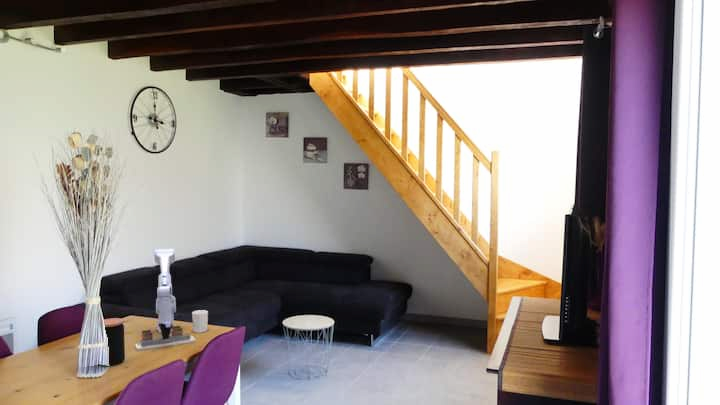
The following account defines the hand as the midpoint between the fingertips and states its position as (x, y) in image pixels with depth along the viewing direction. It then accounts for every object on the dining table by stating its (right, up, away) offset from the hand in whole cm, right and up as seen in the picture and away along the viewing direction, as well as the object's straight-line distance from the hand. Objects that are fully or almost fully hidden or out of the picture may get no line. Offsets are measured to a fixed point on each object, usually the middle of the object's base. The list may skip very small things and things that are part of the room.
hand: (165, 339), depth 252 cm
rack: (-4, -3, +7) cm, 9 cm away
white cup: (+9, -2, +23) cm, 25 cm away
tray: (0, -3, +1) cm, 3 cm away
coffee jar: (-15, -4, -24) cm, 28 cm away
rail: (-1, -1, +1) cm, 1 cm away
